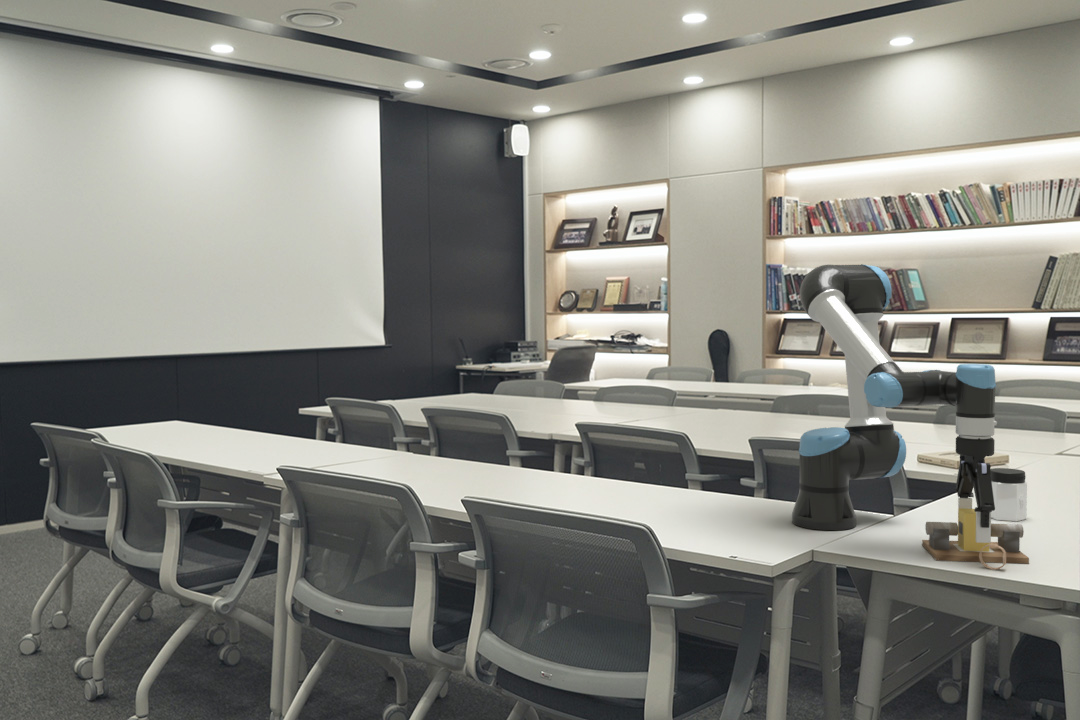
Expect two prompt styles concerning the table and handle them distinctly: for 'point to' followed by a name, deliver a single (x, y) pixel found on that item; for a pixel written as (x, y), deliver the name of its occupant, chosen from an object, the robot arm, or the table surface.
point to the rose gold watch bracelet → (986, 564)
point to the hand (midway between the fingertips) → (973, 534)
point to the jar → (1009, 494)
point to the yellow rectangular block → (968, 531)
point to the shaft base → (953, 552)
